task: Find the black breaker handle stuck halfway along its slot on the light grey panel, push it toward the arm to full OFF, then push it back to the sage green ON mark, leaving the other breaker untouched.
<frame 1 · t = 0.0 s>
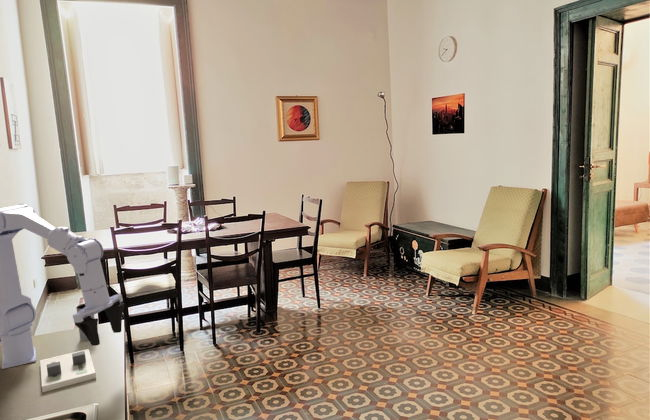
hand: (106, 338, 123), 11 cm above the counter, tool pointing down, fingers open, 7 cm apart
breaker a: (54, 369, 124), point 3 cm above the counter, slide at 6.0 cm
breaker b: (78, 358, 129), point 3 cm above the counter, slide at 3.0 cm
planter: (88, 338, 149), on the counter
panel: (67, 371, 128), on the counter
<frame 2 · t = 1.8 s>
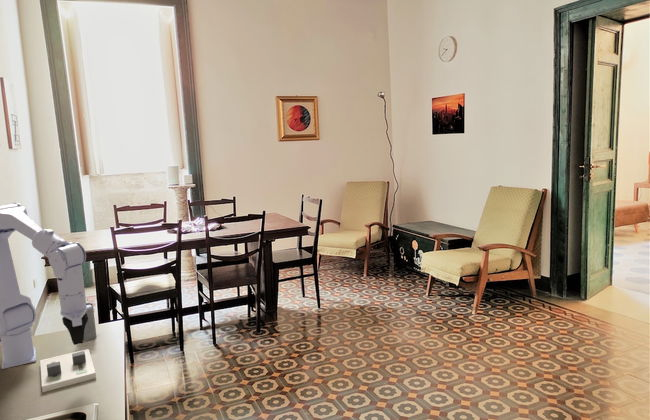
hand: (78, 343, 123), 10 cm above the counter, tool pointing down, fingers closed
nothing on the counter moved.
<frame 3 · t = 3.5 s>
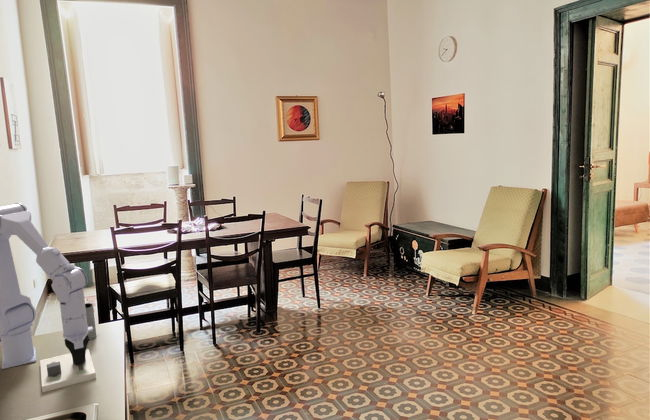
hand: (79, 363, 128), 2 cm above the counter, tool pointing down, fingers closed
breaker b: (78, 357, 130), point 3 cm above the counter, slide at 2.5 cm, touching gripper
everything else where it was.
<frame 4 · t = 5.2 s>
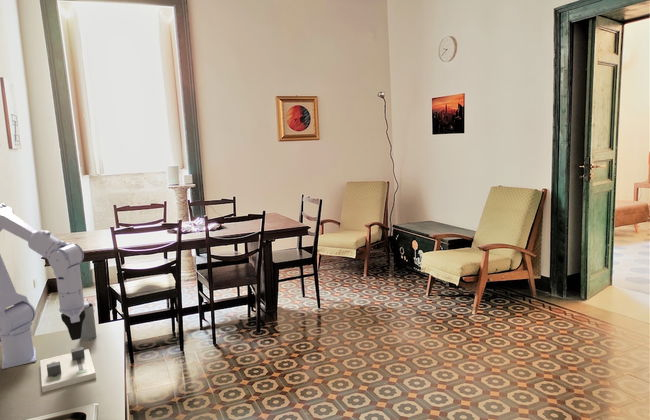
hand: (76, 338, 130), 8 cm above the counter, tool pointing down, fingers closed
breaker b: (77, 353, 132), point 3 cm above the counter, slide at -0.1 cm
everything else where it was.
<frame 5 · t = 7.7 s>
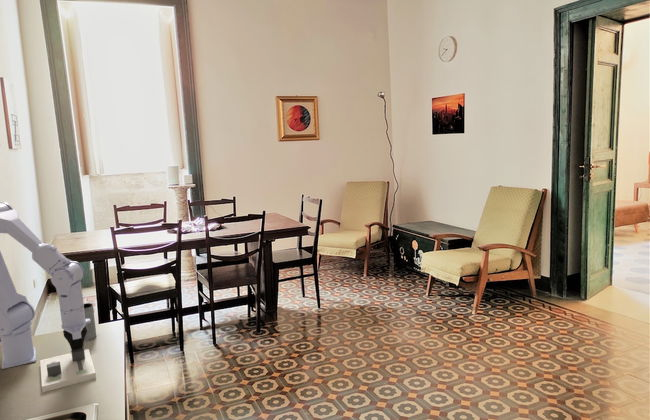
hand: (77, 354, 133), 2 cm above the counter, tool pointing down, fingers closed
breaker b: (78, 354, 131), point 3 cm above the counter, slide at 0.7 cm, touching gripper
everything else where it was.
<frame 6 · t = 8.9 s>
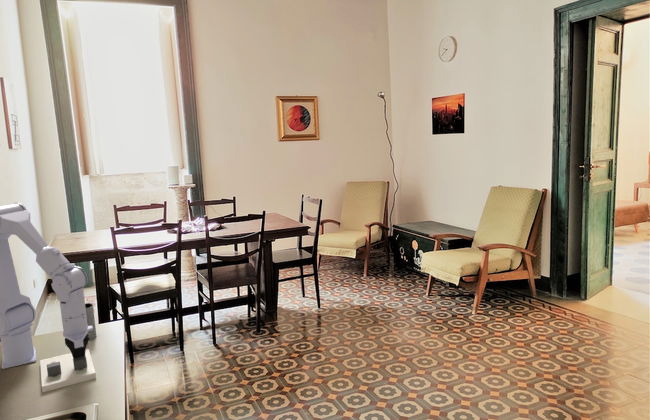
hand: (79, 362, 128), 2 cm above the counter, tool pointing down, fingers closed
breaker b: (80, 362, 127), point 3 cm above the counter, slide at 6.2 cm, touching gripper
everything else where it was.
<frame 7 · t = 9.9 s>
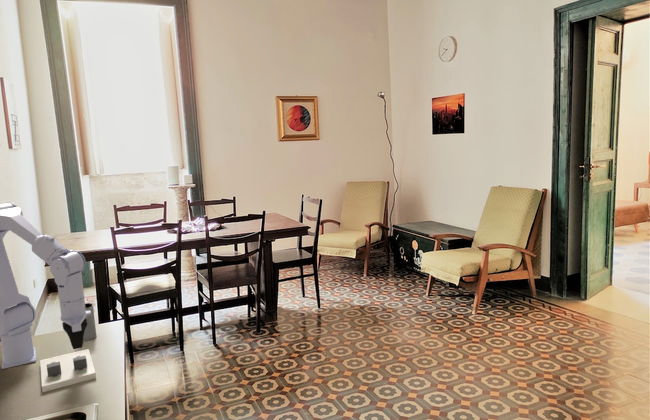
hand: (77, 347, 127), 7 cm above the counter, tool pointing down, fingers closed
breaker b: (80, 362, 127), point 3 cm above the counter, slide at 6.1 cm
everything else where it was.
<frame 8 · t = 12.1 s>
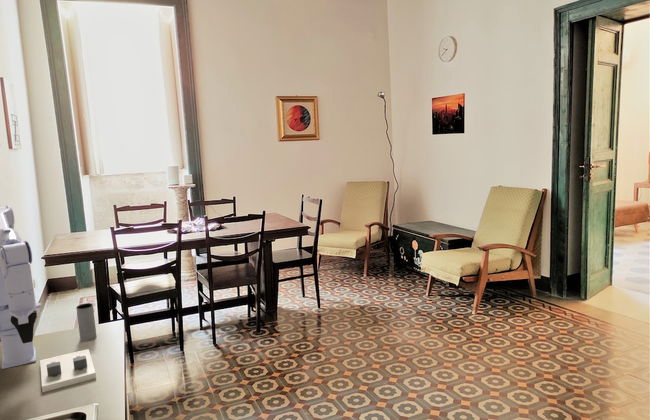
hand: (27, 341, 123), 10 cm above the counter, tool pointing down, fingers closed
nothing on the counter moved.
at the end: breaker b slide at 6.1 cm; breaker a slide at 6.0 cm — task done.
